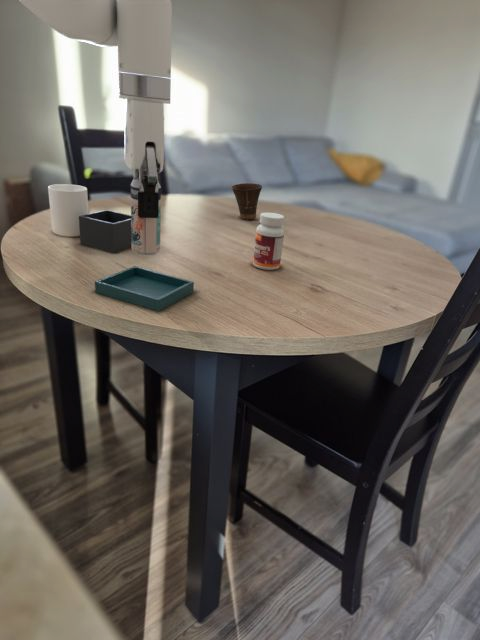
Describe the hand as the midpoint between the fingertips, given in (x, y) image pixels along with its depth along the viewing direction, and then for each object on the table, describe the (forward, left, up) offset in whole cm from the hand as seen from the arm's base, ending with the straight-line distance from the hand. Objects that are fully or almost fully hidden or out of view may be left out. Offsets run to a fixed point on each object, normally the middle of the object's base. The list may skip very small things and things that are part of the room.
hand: (145, 212), depth 80 cm
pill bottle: (+11, +29, -14) cm, 35 cm away
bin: (-23, +18, -14) cm, 33 cm away
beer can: (0, 0, -7) cm, 7 cm away
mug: (-37, +20, -14) cm, 45 cm away
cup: (-13, +67, -14) cm, 70 cm away
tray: (0, 0, -14) cm, 14 cm away
